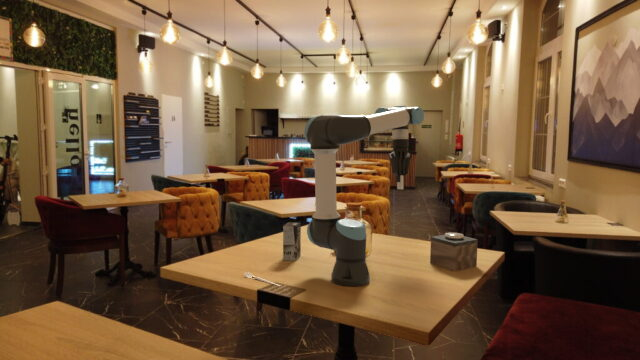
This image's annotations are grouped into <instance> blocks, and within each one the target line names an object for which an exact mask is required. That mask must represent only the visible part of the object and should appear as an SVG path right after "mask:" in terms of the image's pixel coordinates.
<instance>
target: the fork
mask: <svg viewBox="0 0 640 360" xmlns="http://www.w3.org/2000/svg"><path fill="white" fill-rule="evenodd" d="M243 274H244V276H245V277H246V278H247V279H249V278H252V276H253V277H256V278H253V279H252V280H258V281H261V282H263V281H264V283H266V282H267V283H268V284H270V285H273V284H274V286H277V287H280V286H281V285H280V284H278V283H275V282H272V281H269V280H267V279H264V278H262V277H260V276H255V275H253V274H252V273H251V272H250V271H245V272H243Z"/></svg>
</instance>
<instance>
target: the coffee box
mask: <svg viewBox="0 0 640 360" xmlns="http://www.w3.org/2000/svg"><path fill="white" fill-rule="evenodd" d="M301 224H302V222H298V221H297V222H292V221H291V222H289V221H287V223H285V224H284V225H282V229H283V231H282V238H283V239H282V260H283V261H291V262H293V261H294V262H296V261H298V260H299V258H300V257H301V252H302V247H301V246H302V243H301V242H302V241H301V237H302V236H301V235H302V234H301V233H302V232H301V230H302V229H301V228H302V226H301Z"/></svg>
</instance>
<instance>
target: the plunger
mask: <svg viewBox="0 0 640 360" xmlns="http://www.w3.org/2000/svg"><path fill="white" fill-rule="evenodd" d="M444 235H445V238H446V239H451V240H462V239H464V236H465V235H464V234H463V233H459V232H445V233H444Z"/></svg>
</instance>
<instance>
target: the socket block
mask: <svg viewBox="0 0 640 360" xmlns="http://www.w3.org/2000/svg"><path fill="white" fill-rule="evenodd" d="M478 241H479V240H478V239H477V238H474V237H473V238H472V237H469V236H465V235H464V239H462V240H451V239H446V238H445V234H441V235H440V234H439V235H435V236H434V235H433V236H431V237H430V255H429V257H430V259H429V263H430V264H433V265H435V266H439V267H441V268H443V269H447V270H450V271H453V272H457V271H460V270H466V269H470V268H475V267H477V263H478V262H477V261H478V244H479V243H478Z"/></svg>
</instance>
